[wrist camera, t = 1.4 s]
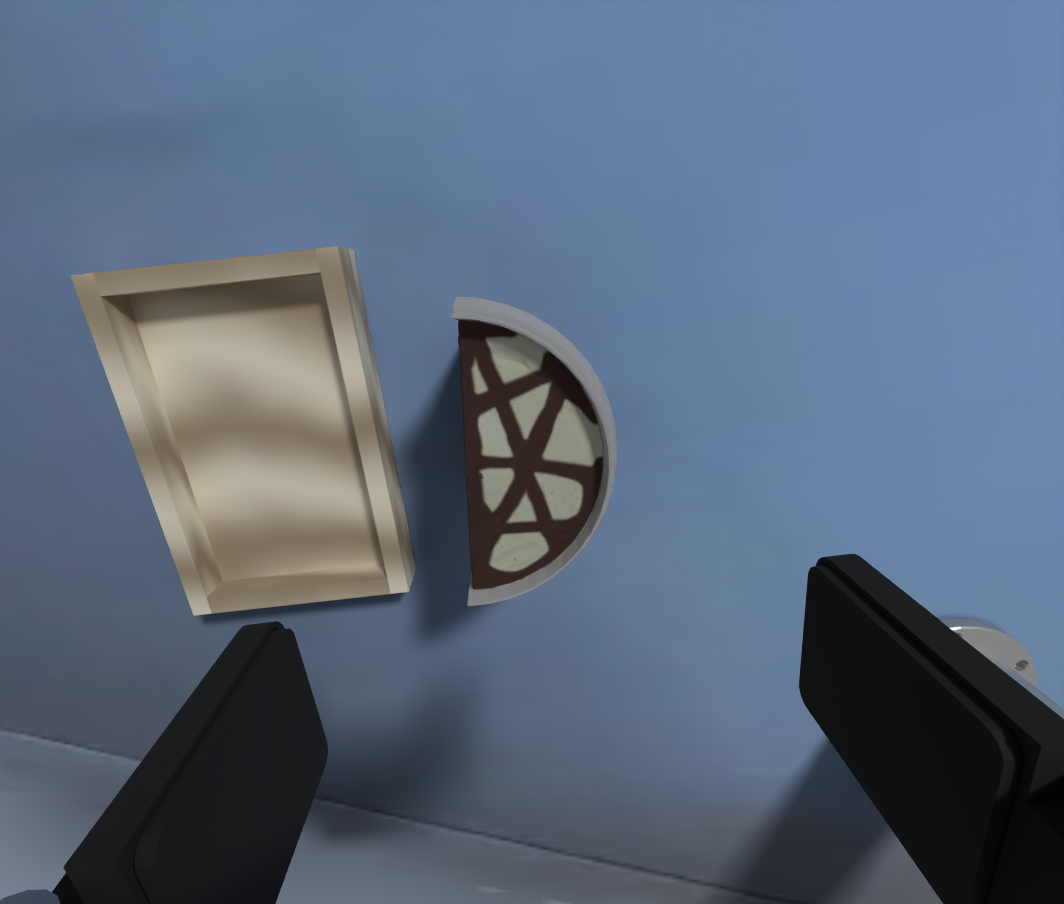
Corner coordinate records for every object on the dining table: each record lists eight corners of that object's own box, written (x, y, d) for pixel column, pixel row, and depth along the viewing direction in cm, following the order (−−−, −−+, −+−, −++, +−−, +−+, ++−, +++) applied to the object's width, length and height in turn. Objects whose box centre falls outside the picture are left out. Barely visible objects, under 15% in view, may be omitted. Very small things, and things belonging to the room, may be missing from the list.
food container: (586, 510, 31) (619, 613, 21) (481, 512, 31) (468, 617, 21) (592, 290, 27) (636, 296, 17) (471, 291, 27) (450, 298, 17)
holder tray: (416, 568, 31) (408, 591, 29) (217, 590, 31) (193, 615, 29) (353, 249, 26) (337, 246, 23) (111, 275, 26) (70, 275, 23)
